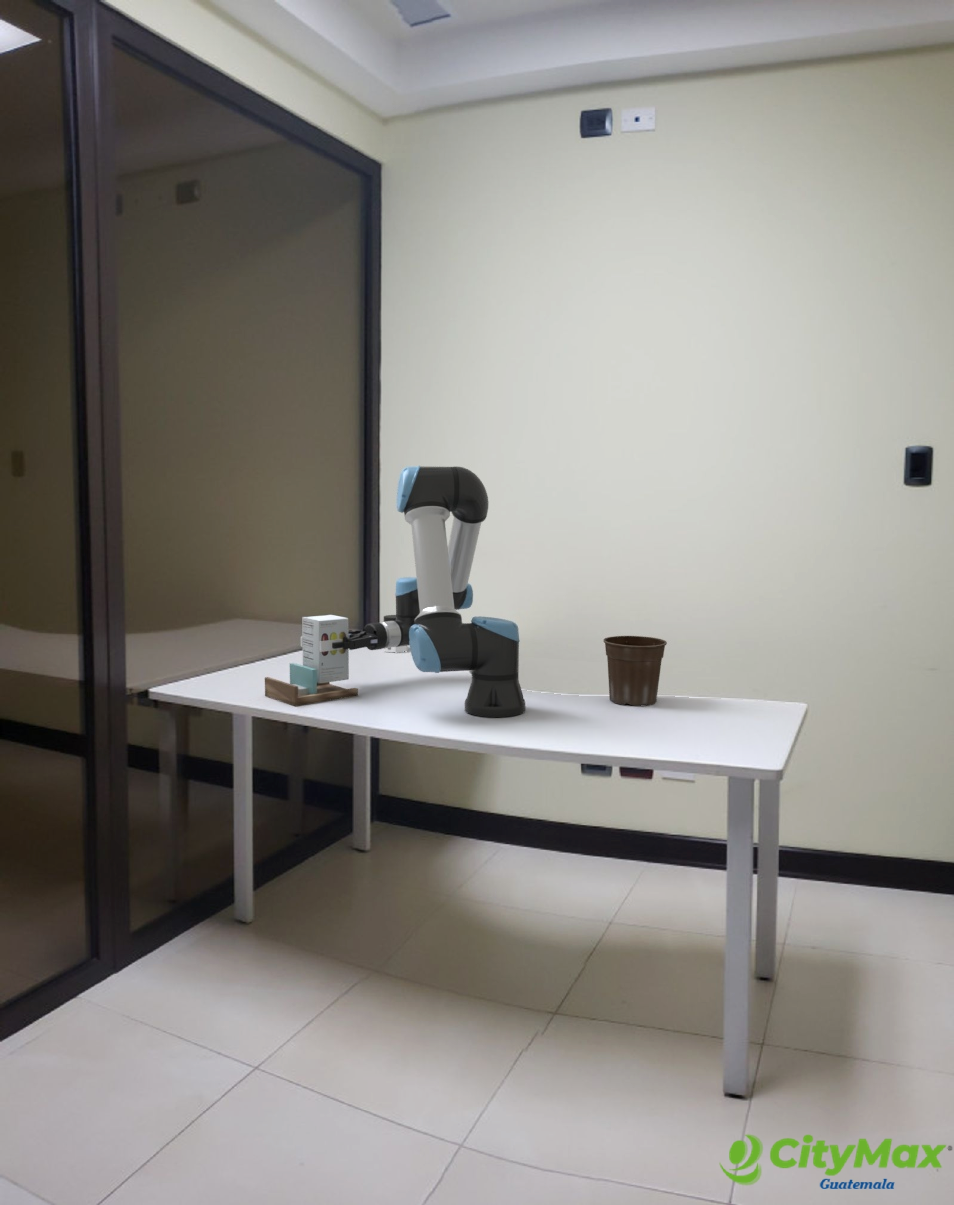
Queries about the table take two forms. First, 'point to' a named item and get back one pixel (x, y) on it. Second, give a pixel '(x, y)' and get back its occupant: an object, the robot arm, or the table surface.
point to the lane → (290, 695)
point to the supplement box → (328, 662)
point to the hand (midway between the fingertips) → (310, 644)
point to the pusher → (303, 679)
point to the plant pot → (634, 668)
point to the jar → (393, 649)
